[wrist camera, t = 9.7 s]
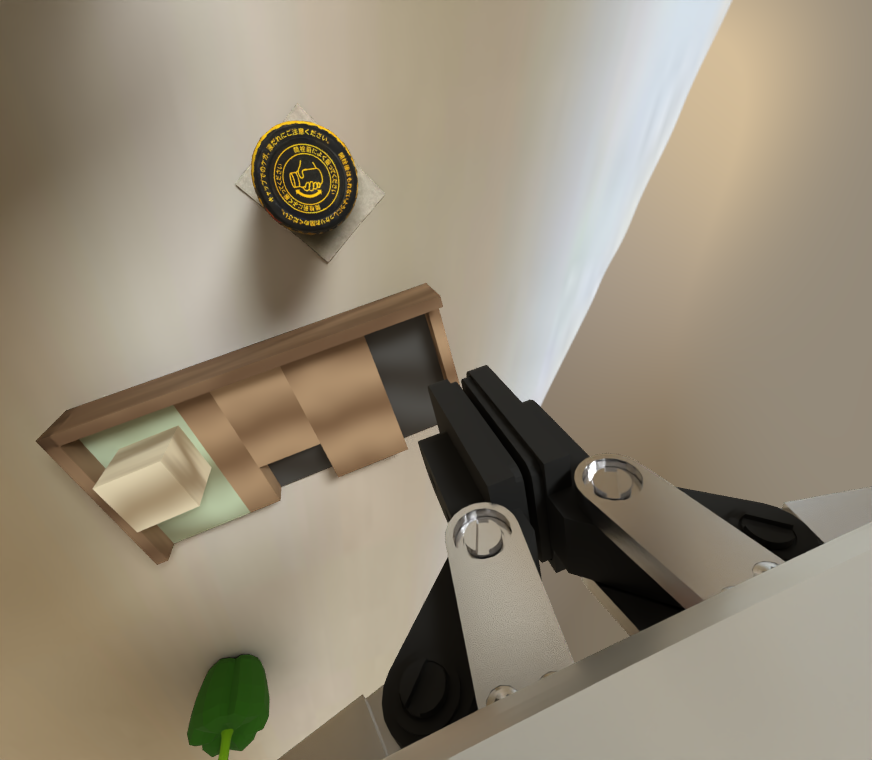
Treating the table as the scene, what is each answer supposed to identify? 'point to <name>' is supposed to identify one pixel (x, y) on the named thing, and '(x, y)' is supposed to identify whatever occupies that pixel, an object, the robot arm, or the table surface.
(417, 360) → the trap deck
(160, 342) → the table surface
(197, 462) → the birch block
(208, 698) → the bell pepper
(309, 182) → the condiment
